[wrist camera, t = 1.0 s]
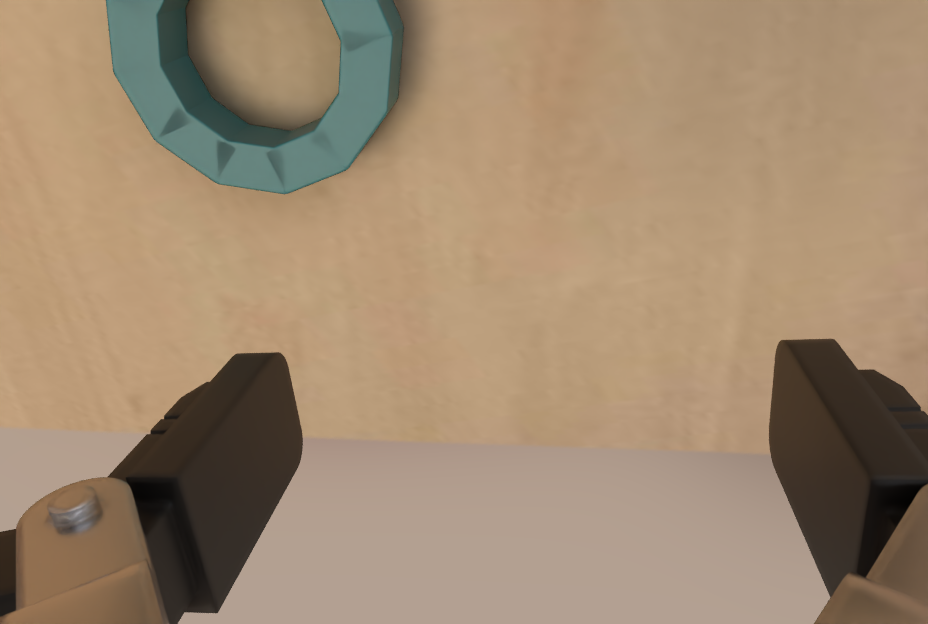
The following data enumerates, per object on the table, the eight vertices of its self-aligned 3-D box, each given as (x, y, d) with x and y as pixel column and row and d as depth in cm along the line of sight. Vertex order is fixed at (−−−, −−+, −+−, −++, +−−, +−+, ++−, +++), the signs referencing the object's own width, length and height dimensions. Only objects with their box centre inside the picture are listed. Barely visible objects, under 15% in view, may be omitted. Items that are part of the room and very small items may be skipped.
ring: (151, 152, 30) (122, 170, 28) (127, -129, 25) (91, -133, 23) (390, 188, 30) (379, 209, 28) (413, -87, 25) (402, -87, 23)
